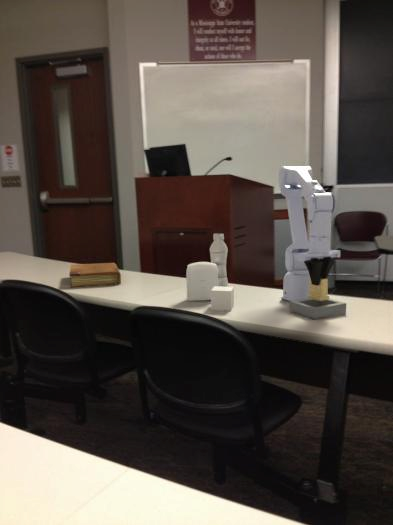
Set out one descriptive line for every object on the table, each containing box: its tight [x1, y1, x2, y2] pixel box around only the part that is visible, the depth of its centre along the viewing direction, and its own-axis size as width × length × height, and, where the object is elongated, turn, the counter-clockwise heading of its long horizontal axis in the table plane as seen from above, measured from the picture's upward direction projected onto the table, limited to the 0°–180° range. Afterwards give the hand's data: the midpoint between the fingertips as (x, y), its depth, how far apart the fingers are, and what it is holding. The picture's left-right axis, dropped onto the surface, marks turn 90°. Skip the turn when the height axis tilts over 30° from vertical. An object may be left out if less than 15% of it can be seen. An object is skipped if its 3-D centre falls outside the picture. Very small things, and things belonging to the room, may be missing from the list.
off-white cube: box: [210, 286, 235, 312], centre depth 132 cm, size 6×6×6 cm
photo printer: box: [185, 261, 218, 302], centre depth 142 cm, size 10×4×12 cm, turn 96°
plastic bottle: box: [209, 233, 229, 287], centre depth 155 cm, size 6×7×20 cm
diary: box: [69, 262, 122, 289], centre depth 177 cm, size 23×19×6 cm
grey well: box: [289, 298, 347, 321], centre depth 126 cm, size 10×12×3 cm
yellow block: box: [307, 277, 330, 301], centre depth 125 cm, size 4×5×6 cm
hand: (318, 284), depth 125 cm, fingers closed on yellow block, 2 cm apart
